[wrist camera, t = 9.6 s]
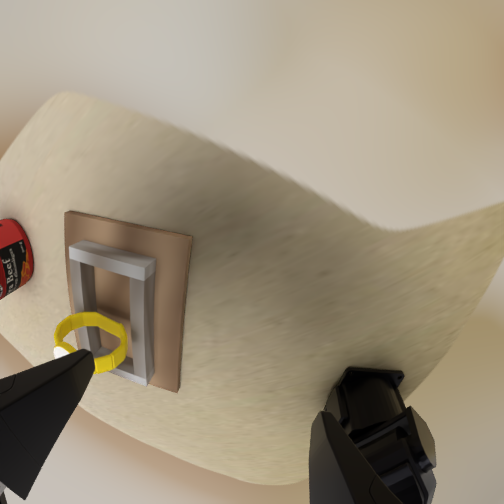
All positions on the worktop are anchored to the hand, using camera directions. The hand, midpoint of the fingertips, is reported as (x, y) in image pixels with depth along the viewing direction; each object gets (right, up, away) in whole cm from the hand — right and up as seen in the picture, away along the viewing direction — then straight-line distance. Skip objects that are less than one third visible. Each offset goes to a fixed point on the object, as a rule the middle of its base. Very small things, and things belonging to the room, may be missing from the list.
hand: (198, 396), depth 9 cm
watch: (-10, -1, +11) cm, 15 cm away
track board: (-10, 0, +14) cm, 17 cm away
